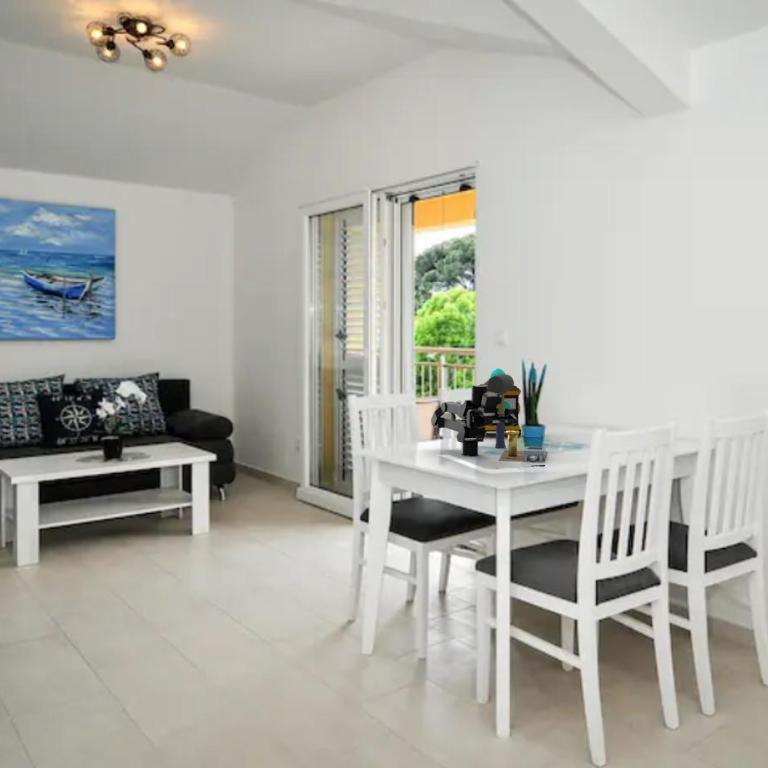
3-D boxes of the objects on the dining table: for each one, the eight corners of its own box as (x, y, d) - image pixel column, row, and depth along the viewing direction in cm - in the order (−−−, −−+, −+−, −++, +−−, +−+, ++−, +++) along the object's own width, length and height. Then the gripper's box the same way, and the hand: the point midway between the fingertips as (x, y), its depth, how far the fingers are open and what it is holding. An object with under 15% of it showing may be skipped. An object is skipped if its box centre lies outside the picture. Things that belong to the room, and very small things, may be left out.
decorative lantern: (514, 432, 356) (514, 367, 354) (525, 438, 337) (526, 369, 334) (471, 432, 355) (471, 367, 353) (479, 438, 335) (480, 369, 333)
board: (504, 454, 293) (504, 450, 293) (547, 455, 289) (547, 451, 289) (497, 465, 270) (498, 460, 269) (544, 466, 266) (544, 462, 266)
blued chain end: (525, 454, 282) (525, 446, 282) (545, 455, 281) (545, 447, 280) (522, 461, 267) (522, 453, 267) (543, 462, 266) (543, 453, 266)
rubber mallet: (504, 454, 292) (504, 375, 290) (485, 453, 296) (485, 374, 294) (514, 449, 303) (515, 373, 301) (496, 448, 307) (497, 373, 305)
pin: (503, 455, 281) (504, 430, 281) (515, 454, 283) (515, 430, 282) (509, 457, 277) (510, 432, 276) (521, 456, 279) (521, 431, 278)
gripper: (459, 393, 269) (480, 398, 254) (506, 391, 275) (529, 396, 261) (458, 424, 270) (479, 432, 256) (506, 422, 277) (528, 429, 262)
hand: (504, 421), depth 258 cm, fingers open, 9 cm apart
